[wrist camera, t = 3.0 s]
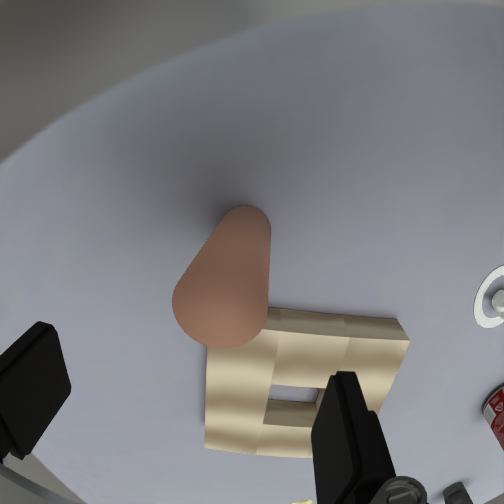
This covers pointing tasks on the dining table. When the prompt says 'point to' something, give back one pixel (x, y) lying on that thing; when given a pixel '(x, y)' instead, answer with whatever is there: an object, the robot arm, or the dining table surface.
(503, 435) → the soda can
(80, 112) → the dining table surface
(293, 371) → the socket block
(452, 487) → the beverage cup
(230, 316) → the peg
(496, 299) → the teacup and saucer
